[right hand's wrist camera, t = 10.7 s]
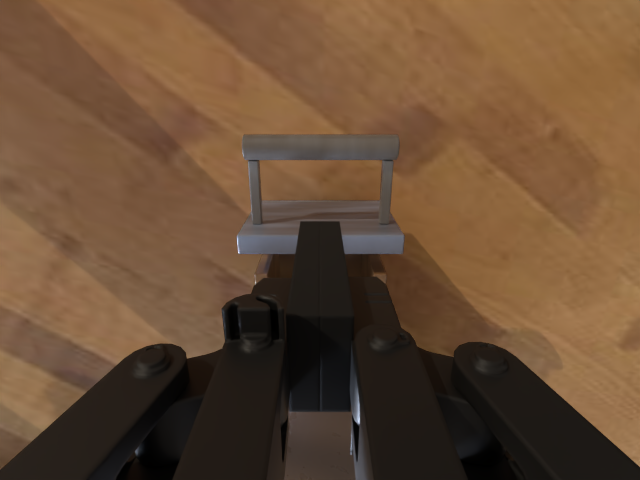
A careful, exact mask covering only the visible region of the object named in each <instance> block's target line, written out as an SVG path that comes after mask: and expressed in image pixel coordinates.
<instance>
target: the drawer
mask: <svg viewBox="0 0 640 480" xmlns="http://www.w3.org/2000/svg"><path fill="white" fill-rule="evenodd" d="M242 152H243V157H244V159H245V160H249V161H248V169H249V184H250V198H251V213H250V215H249V216H248V218H247V220H246V221H245V223H244V225H243V226H242V228H241V230H240V232H239V233H238V235H237V244H238V253H239V254H262V256H261V259H260V261H259V264H258V267H257V270H256V272H255V284H257V283H258V282H259V281H260V280H261V279H263V278H292V272H293V265H294V259H295V253H296V246H297V240H298V233H299V227H300V221H340V227H341V233H342V240H343V246H344V253H345V259H346V265H347V272H348V277H378V278H379V279H380V280H381V281H383V282H384V283H385V284H386V279H387V274H386V271H385V269H384V266H383V263H382V261H381V258H380V255H379V254H403V250H404V238H405V236H404V234H403V232H402V231H401V229H400V227H399V226H398V224H397V223H396V221H395V219H394V218H393V216H392V214H391V213H390V203H391V189H392V175H393V160H397V158H398V155H399V136H398V135H397V134H340V135H243V138H242ZM259 160H382V170H381V187H380V201H262V198H261V181H260V164H259Z"/></svg>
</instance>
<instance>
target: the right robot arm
mask: <svg viewBox="0 0 640 480" xmlns="http://www.w3.org/2000/svg"><path fill="white" fill-rule="evenodd" d="M222 317H223V326H224V335H225V343H224V346H223V348H222V349H220V350H218V351H216V352H213V353H210V354H206V355H202V356H198V357H193V358H188V359H187V357H186V352H185V351H184V350H183V349H182V348H181V347H179V346H176V345H173V344H155V345H150V346H146V347H144V348H142V349H139V350H137V351H135V352H133V353H132V354H130V355H129V356H127V357H126V358H124V359H123V360H122V361H121V362H120V363H119V364H118V365H117V366H115V367H114V368H113V369H112V370H111V371H110V372H109V373H108V374H107V375H105V376H104V377H103V378H102V379H101V380H100V381H99V382H98V383H97V384H95V385H94V386H93V387H92V388H91V389H90V390H89V391H88V392H87V393H85V394H84V395H83V396H82V397H81V398H80V399H79V400H78V401H77V402H75V403H74V404H73V405H72V406H71V407H70V408H69V409H68V410H67V411H65V412H64V413H63V414H62V415H61V416H60V417H59V418H58V419H57V420H55V421H54V422H53V423H52V424H51V425H50V426H49V427H48V428H47V429H45V430H44V431H43V432H42V433H41V434H40V435H39V436H38V437H37V438H35V439H34V440H33V441H32V442H31V443H30V444H29V445H28V446H27V447H25V448H24V449H23V450H22V451H21V452H20V453H19V454H18V455H17V456H15V457H14V458H13V459H12V460H11V461H10V462H9V463H8V464H7V465H5V466H4V467H3V468H2V469H1V470H0V480H284V478H285V467H286V456H287V445H288V434H289V424H288V410H289V412H351V408H352V424H351V449H350V455H354V467H355V478H356V480H640V467H639V466H638V465H637V464H636V463H635V462H633V461H632V460H631V459H630V458H629V457H628V456H627V455H626V454H624V453H623V452H622V451H621V450H620V449H619V448H618V447H617V446H616V445H614V444H613V443H612V442H611V441H610V440H609V439H608V438H607V437H605V436H604V435H603V434H602V433H601V432H600V431H599V430H598V429H596V428H595V427H594V426H593V425H592V424H591V423H590V422H589V421H587V420H586V419H585V418H584V417H583V416H582V415H581V414H580V413H579V412H577V411H576V410H575V409H574V408H573V407H572V406H571V405H570V404H568V403H567V402H566V401H565V400H564V399H563V398H562V397H561V396H559V395H558V394H557V393H556V392H555V391H554V390H553V389H552V388H550V387H549V386H548V385H547V384H546V383H545V382H544V381H543V380H542V379H540V378H539V377H538V376H537V375H536V374H535V373H534V372H533V371H531V370H530V369H529V368H528V367H527V366H526V365H525V364H524V363H522V362H521V361H520V360H519V359H518V358H517V357H516V356H514V355H513V354H511V353H510V352H508V351H507V350H505V349H503V348H500V347H498V346H496V345H493V344H489V343H483V342H468V343H465V344H462V345H459V347H458V348H457V349H456V350H455V351H454V357H450V356H445V355H441V354H436V353H432V352H429V351H425V350H423V349H421V348H419V347H417V345H416V342H415V340H414V339H413V337H412V336H411V335H410V334H409V333H408V332H406V331H405V330H403V329H402V328H401V326H400V323H399V320H398V317H397V314H396V311H395V309H394V306H393V303H392V300H391V297H390V295H389V291H388V289H387V286H386V284H385V283H384V282H383V281H381V280H380V279H379V278H378V277H348V272H347V265H346V259H345V253H344V246H343V240H342V233H341V227H340V221H300V227H299V233H298V240H297V246H296V253H295V259H294V265H293V272H292V278H263V279H261V280H260V281H259V282H258V283H257V284H255V285H254V287H253V290H252V293H251V294H246V295H243V296H239V297H236V298H234V299H232V300H230V301H229V302H227V303H226V304H225V305H224V307H223V308H222Z"/></svg>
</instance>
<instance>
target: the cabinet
mask: <svg viewBox="0 0 640 480" xmlns="http://www.w3.org/2000/svg"><path fill="white" fill-rule="evenodd" d="M288 424H289V434H288V445H287V456H286V467H285V478H284V480H356V478H355V467H354V455H350V449H351V424H352V408H351V412H289V410H288Z"/></svg>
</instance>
